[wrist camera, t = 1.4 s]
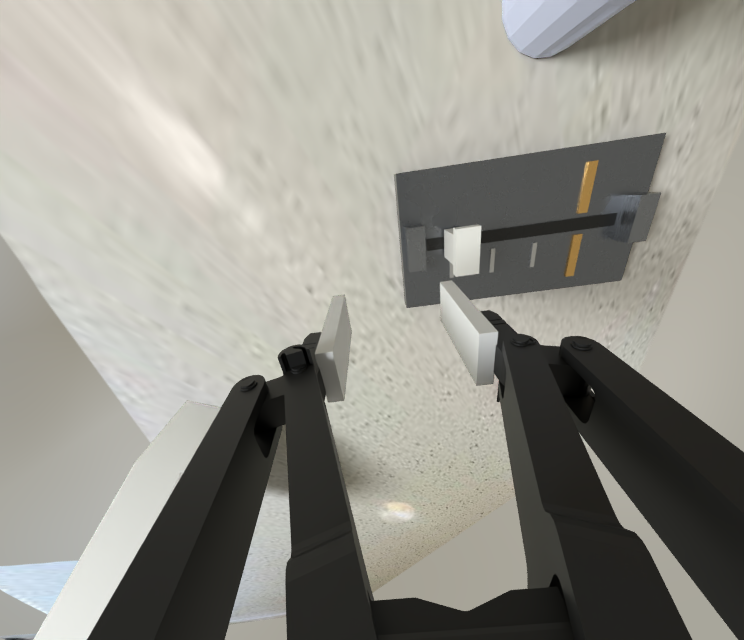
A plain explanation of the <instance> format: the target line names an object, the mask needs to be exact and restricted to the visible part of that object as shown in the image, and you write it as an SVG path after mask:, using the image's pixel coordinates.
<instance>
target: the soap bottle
mask: <svg viewBox="0 0 744 640" xmlns="http://www.w3.org/2000/svg"><path fill="white" fill-rule="evenodd" d="M634 1H636V0H502V21H503V24H504V27H505V30H506V33H507V36H508V39H509V40H510V42H511V43H512V44H513V45H514V46H515V48H516V49H517V50H518V51H519V52H520V53H523V54H525V55H527V56H530V57H532V58H542V57H551V56H553V55H555V54H557V53H559V52H561V51H563V50H564V49H566V48H568V47H570V46H571V45H572V44H574V43H575V42H577V41H578V40H580V39H581V38H582V37H584V36H585V35H587V34H588V33H590V32H591V31H593V30H594V29H595V28H597V27H598V26H600V25H601V24H603V23H604V22H606V21H607V20H608V19H610V18H611V17H613V16H614V15H616V14H617V13H619V12H620V11H621V10H623V9H624V8H626V7H627V6H629V5H630V4H632V3H633V2H634Z"/></svg>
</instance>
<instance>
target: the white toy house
mask: <svg viewBox="0 0 744 640" xmlns="http://www.w3.org/2000/svg"><path fill="white" fill-rule="evenodd" d="M220 409H221V408H219V407H215V406H210V405H206V404H201V403H197V402H193V401H188V400H187V401H186V402H185V404H184V405H183V406H182V407H181V408H180V409H179V411H178V412H177V413H176V414H175V415H174V417H173V418H172V419H171V420H170V421H169V423H168V424H167V425H166V426H165V427H164V428H163V430H162V431H161V432H160V433H159V434H158V436H157V437H156V438H155V439H154V440H153V441H152V443H151V444H150V445H149V446H148V447H147V449H146V450H145V451H144V452H143V453H142V455H141V456H140V457H139V458H138V459H137V461H136V462H135V463H134V465H133V466H132V468H131V470H130V472H129V474H128V475H127V477H126V479H125V480H124V483H123V484H122V486H121V487H120V489H119V491H118V493H117V494H116V496H115V498H114V500H113V502H112V503H111V505H110V507H109V508H108V510H107V512H106V514H105V515H104V517H103V519H102V521H101V522H100V524H99V526H98V528H97V529H96V531H95V533H94V535H93V536H92V538H91V540H90V542H89V543H88V545H87V547H86V549H85V551H84V552H83V554H82V556H81V558H80V559H79V561H78V563H77V564H76V566H75V568H74V570H73V571H72V573H71V575H70V577H69V578H68V580H67V582H66V584H65V585H64V587H63V589H62V591H61V592H60V594H59V596H58V598H57V599H56V601H55V603H54V605H53V607H52V608H51V610H50V612H49V614H48V615H47V617H46V619H45V621H44V622H43V624H42V626H41V628H40V629H39V631H38V633H37V635H36V636H35V638H34V640H87V639H88V637H89V635H90V633H91V632H92V630H93V628H94V626H95V625H96V623H97V621H98V620H99V618H100V616H101V614H102V613H103V611H104V609H105V607H106V606H107V604H108V602H109V601H110V599H111V597H112V595H113V594H114V592H115V590H116V588H117V587H118V585H119V583H120V582H121V580H122V578H123V576H124V575H125V573H126V571H127V569H128V568H129V566H130V564H131V563H132V561H133V559H134V557H135V556H136V554H137V552H138V550H139V549H140V547H141V545H142V543H143V542H144V540H145V538H146V537H147V535H148V533H149V531H150V530H151V528H152V526H153V524H154V523H155V521H156V519H157V518H158V516H159V514H160V512H161V511H162V509H163V507H164V505H165V504H166V502H167V500H168V499H169V497H170V495H171V493H172V492H173V490H174V488H175V486H176V485H177V483H178V481H179V480H180V478H181V476H182V474H183V473H184V471H185V469H186V467H187V466H188V464H189V462H190V461H191V459H192V457H193V455H194V454H195V452H196V450H197V448H198V447H199V445H200V443H201V441H202V440H203V438H204V436H205V435H206V433H207V431H208V429H209V428H210V426H211V424H212V422H213V421H214V419H215V417H216V416H217V414H218V412H219V410H220Z"/></svg>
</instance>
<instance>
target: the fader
mask: <svg viewBox="0 0 744 640" xmlns="http://www.w3.org/2000/svg"><path fill="white" fill-rule="evenodd" d="M480 244H481V225H478V224H477V225H470V226H463V227H456V228H451V229H444V257H445V258H446V259H447V260H448V261H450V262H451V263H452V264H453V274H454V275H455V276H456V277H458V276H466V275H474V274H479V264H480Z"/></svg>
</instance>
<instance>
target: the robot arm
mask: <svg viewBox="0 0 744 640" xmlns="http://www.w3.org/2000/svg"><path fill="white" fill-rule="evenodd" d="M440 313H441V322H442V324H443V326H444V327H445V329H446V331H447V333H448V335H449V336H450V338H451V340H452V342H453V344H454V346H455V347H456V349H457V351H458V353H459V355H460V357H461V358H462V360H463V362H464V364H465V366H466V368H467V369H468V371H469V373H470V375H471V377H472V379H473V380H474V382H475V384H476V386H478V385H487V384H493V382H494V374H495V375H496V376H497V378H498V379H499V385H498V395H497V402H500V403H501V409H502V415H503V421H504V428H505V434H506V440H507V446H508V452H509V458H510V464H511V470H512V477H513V483H514V489H515V495H516V501H517V507H518V513H519V519H520V526H521V532H522V538H523V544H524V549H525V556H526V563H527V573H528V589H520V590H510V591H508V592H506V593H504V594H502V595H500V596H498V597H496V598H494V599H492V600H490V601H488V602H486V603H484V604H482V605H480V606H478V607H476V608H474V609H472V610H470V611H461V610H457V609H453V608H450V607H446V606H443V605H439V604H436V603H432V602H429V601H425V600H422V599H418V598H404V599H392V600H378V601H374V598H373V595H372V591H371V587H370V583H369V579H368V575H367V571H366V567H365V563H364V559H363V555H362V551H361V547H360V543H359V539H358V535H357V531H356V527H355V522H354V518H353V514H352V510H351V506H350V502H349V498H348V494H347V490H346V486H345V482H344V478H343V474H342V470H341V466H340V462H339V457H338V453H337V449H336V445H335V441H334V437H333V433H332V429H331V425H330V421H329V417H328V413H327V409H326V405H325V402H324V401H325V396H327V400H328V402H337V401H344V398H345V389H346V380H347V371H348V362H349V352H350V343H351V334H352V330H351V325H350V320H349V315H348V310H347V304H346V299H345V295H338V296H333V298H332V301H331V304H330V307H329V310H328V313H327V317H326V320H325V323H324V326H323V329H322V332H318V333H310V334H309V335H308V336H307V337H306V338H305V339H304V342H303V345H293V346H290V347H288V348H286V349H284V350H282V351H281V352H280V353H279V355H278V360H279V363H280V365H281V368H282V371H283V376H281V377H279V378H276V379H273V380H270V381H267V382H266V381H265V379H264V377H263V376H260V375H252V376H248V377H246V378H243V379H242V380H240V381H239V382H238V383H236V384H235V385H234V387H233V388H232V390H231V391H230V393H229V395H228V397H227V398H226V400H225V402H224V403H223V405H222V407H221V409H220V410H219V412H218V414H217V416H216V417H215V419H214V421H213V422H212V424H211V426H210V428H209V429H208V431H207V433H206V435H205V436H204V438H203V440H202V441H201V443H200V445H199V447H198V448H197V450H196V452H195V454H194V455H193V457H192V459H191V461H190V462H189V464H188V466H187V467H186V469H185V471H184V473H183V474H182V476H181V478H180V480H179V481H178V483H177V485H176V486H175V488H174V490H173V492H172V493H171V495H170V497H169V499H168V500H167V502H166V504H165V505H164V507H163V509H162V511H161V512H160V514H159V516H158V518H157V519H156V521H155V523H154V524H153V526H152V528H151V530H150V531H149V533H148V535H147V537H146V538H145V540H144V542H143V543H142V545H141V547H140V549H139V550H138V552H137V554H136V556H135V557H134V559H133V561H132V563H131V564H130V566H129V568H128V569H127V571H126V573H125V575H124V576H123V578H122V580H121V582H120V583H119V585H118V587H117V588H116V590H115V592H114V594H113V595H112V597H111V599H110V601H109V602H108V604H107V606H106V607H105V609H104V611H103V613H102V614H101V616H100V618H99V620H98V621H97V623H96V625H95V626H94V628H93V630H92V632H91V633H90V635H89V637H88V639H87V640H225V636H226V632H227V629H228V625H229V621H230V618H231V614H232V610H233V607H234V603H235V599H236V596H237V592H238V588H239V585H240V581H241V577H242V574H243V570H244V566H245V563H246V559H247V555H248V552H249V548H250V544H251V541H252V537H253V533H254V530H255V526H256V522H257V519H258V515H259V511H260V508H261V504H262V500H263V497H264V493H265V489H266V486H267V482H268V478H269V475H270V471H271V467H272V464H273V460H274V456H275V453H276V449H277V445H278V442H279V438H280V434H281V430H282V425H285V424H286V441H287V462H288V484H289V505H290V527H291V558H290V559H289V561H288V562H287V566H286V618H287V640H692V638H691V636H690V634H689V632H688V630H687V628H686V626H685V624H684V622H683V620H682V618H681V616H680V614H679V612H678V610H677V608H676V605H675V603H674V602H673V599H672V598H671V595H670V593H669V591H668V589H667V587H666V585H665V583H664V581H663V579H662V577H661V575H660V573H659V571H658V569H657V567H656V565H655V563H654V561H653V559H652V557H651V555H650V553H649V551H648V550H647V548H646V546H645V544H644V543H643V541H642V540H641V539H640V538H639V537H638V536H637V534H636V533H635V532H632V531H630V530H627V529H624V528H623V527H622V525H621V524H620V523H619V521H618V519H617V517H616V515H615V513H614V510H613V508H612V506H611V504H610V502H609V499H608V497H607V495H606V493H605V490H604V488H603V486H602V484H601V481H600V479H599V477H598V475H597V472H596V470H595V468H594V466H593V463H592V461H591V459H590V457H589V454H588V452H587V450H586V448H585V445H584V443H583V441H582V439H581V436H582V437H583V438H584V439H585V441H586V442H587V443H588V445H589V446H590V447H591V449H592V450H593V451H594V452H595V454H596V455H597V456H598V458H599V459H600V460H601V462H602V463H603V464H604V465H605V467H606V468H607V469H608V471H609V472H610V473H611V475H612V476H613V477H614V478H615V480H616V481H617V482H618V484H619V485H620V486H621V488H622V489H623V490H624V491H625V493H626V494H627V495H628V497H629V498H630V499H631V501H632V502H633V503H634V504H635V506H636V507H637V508H638V510H639V511H640V512H641V514H642V515H643V516H644V518H645V519H646V520H647V521H648V523H649V524H650V525H651V527H652V528H653V529H654V530H655V532H656V533H657V534H658V535H659V537H660V538H661V540H662V541H663V542H664V543H665V545H666V546H667V547H668V549H669V550H670V551H671V553H672V554H673V555H674V556H675V558H676V559H677V560H678V562H679V563H680V564H681V566H682V567H683V568H684V570H685V571H686V572H687V573H688V575H689V576H690V577H691V579H692V580H693V581H694V583H695V584H696V585H697V586H698V588H699V589H700V590H701V592H702V593H703V594H704V596H705V597H706V598H707V600H708V601H709V602H710V603H711V605H712V606H713V607H714V609H715V610H716V611H717V613H718V614H719V615H720V616H721V618H722V619H723V620H724V622H725V623H726V624H727V626H728V627H729V628H730V629H731V631H732V632H733V633H734V635H735V636H736V637H737V638H738V640H744V452H743V451H741V450H740V449H739V448H737V447H736V446H735V445H733V444H732V443H731V442H729V441H728V440H727V439H725V438H724V437H723V436H721V435H720V434H719V433H718V432H716V431H715V430H714V429H712V428H711V427H710V426H708V425H707V424H705V423H704V422H703V421H702V420H700V419H699V418H698V417H696V416H695V415H694V414H692V413H691V412H690V411H688V410H687V409H686V408H684V407H683V406H682V405H681V404H679V403H678V402H677V401H675V400H674V399H673V398H671V397H670V396H668V395H667V394H666V393H665V392H663V391H662V390H661V389H659V388H658V387H657V386H655V385H654V384H653V383H651V382H650V381H649V380H647V379H646V378H645V377H643V376H642V375H641V374H639V373H638V372H637V371H636V370H634V369H633V368H632V367H630V366H629V365H628V364H626V363H625V362H624V361H622V360H621V359H620V358H618V357H617V356H616V355H614V354H613V353H612V352H610V351H609V350H608V349H606V348H605V347H604V346H602V345H601V344H600V343H598V342H596V341H594V340H592V339H589V338H587V337H582V336H570V337H565V338H563V339H562V340H561V345H560V347H559V346H544V345H540V344H539V342H538V341H537V340H536V339H535V338H533V337H531V336H528V335H524V334H517V333H516V332H515V331H514V330H513V329H512V328H511V327H510V326H509V325H508V324H506V322H505V321H504V320H502V318H501V317H500V316H499V315H498V314H497V313H494V312H492V311H490V310H487V311H479V310H478V309H477V308H476V306H475V305H474V304H473V303H472V302H471V301H470V300H469V299H468V298H467V296H466V295H465V294H464V293H463V292H462V291H461V290H460V289H459V288H458V286H457V285H456V284H455V283H454V282H453V281H452V280H451V281H444V282H440ZM591 388H592V389H593V391H594V393H595V394H594V393H593V392H592V391H591ZM579 433H580V434H581V436H580V434H579Z"/></svg>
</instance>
